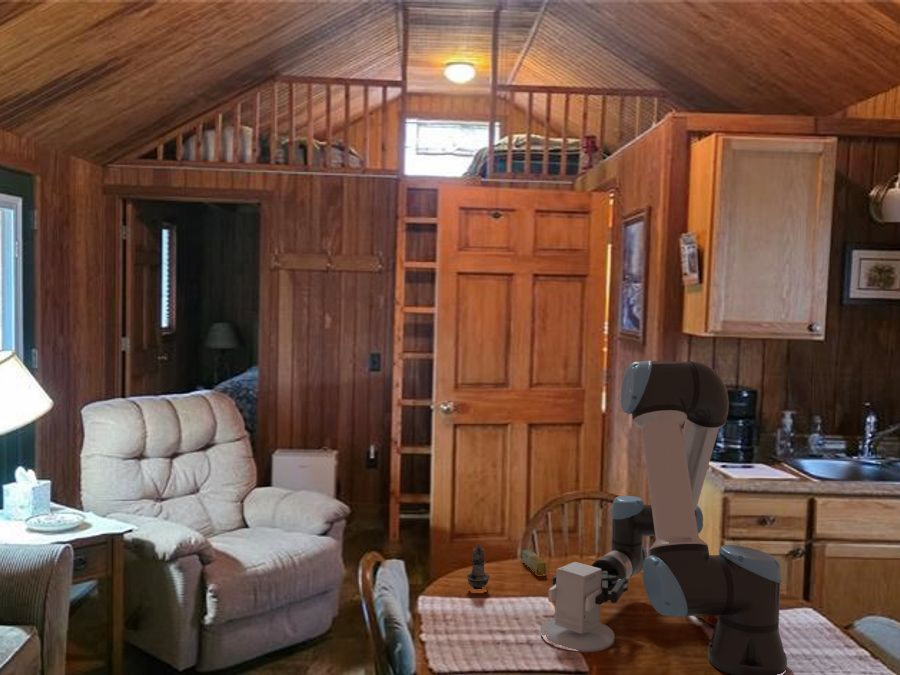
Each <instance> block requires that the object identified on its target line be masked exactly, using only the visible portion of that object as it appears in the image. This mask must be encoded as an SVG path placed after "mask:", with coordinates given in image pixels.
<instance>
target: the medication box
mask: <svg viewBox="0 0 900 675" xmlns="http://www.w3.org/2000/svg"><path fill="white" fill-rule="evenodd" d="M521 553H522V554H521V561H523V562H524V563H525V564H526V565H527V566H528V567H529V568H530V569H532V570H533V571H534V572H535V573H536V574H537V575H543V574H546V575H547V562H546V561H544V560H543V559H542V557H540V556H538V554H536V553H535V552H534V551H533V550H532V549H531V548H527V549H526V548H525V549H522V550H521ZM528 567H527V568H528ZM529 568H528V569H529ZM530 569H529V570H530Z"/></svg>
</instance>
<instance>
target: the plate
mask: <svg viewBox="0 0 900 675" xmlns="http://www.w3.org/2000/svg"><path fill="white" fill-rule="evenodd" d="M544 626H545V627H544ZM542 627H543V628H542ZM545 628H546V629H547V630H546V631H547V632H546V637H547V639H548V640H550V641H552V642H554V643H556V644H559V645H562V646H565V647H568V648H572V649H576V650H578V651H581V652H580V653H593V652H600V651H603V650H607V649H609V648H610V647H612V645H614V643H615V633H614V631H613V629H611V627H609V626H608V625H607V624H604V623H602V622H600V625H598V626H595V627H593V628H591V629H589V630H587V631H586V632H584V633H582V634H580V633H577V632H574V631H571V630H569V629H566V628H563V627H560V626H558V625H555V618H554V619H551V620H550V619H549V620H548V621H546V622H544V623H543V624H542V625H541V627H540V630H542V629H544V630H542V631H544V632H542V631H541V632H542V633H544V634H542V635H545ZM548 630H549V631H548ZM548 632H549V633H548ZM547 635H548V636H547Z"/></svg>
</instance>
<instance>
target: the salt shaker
mask: <svg viewBox="0 0 900 675" xmlns="http://www.w3.org/2000/svg"><path fill="white" fill-rule="evenodd" d="M472 549H473V550H472V560H471V563H472V569H471V572H470V573H468V574H467V575H466V578H467V582H468V584H469V585H470V587H471V586H472V587H473V588H474V589H482V587H486V586H487V585H488V583H489V579H490V575H489V574H487V573H486V572H485V564H486V560H485V549H484V548H483V547H481V544H480V543H478V544H477V546H476V547H474V548H472Z"/></svg>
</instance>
